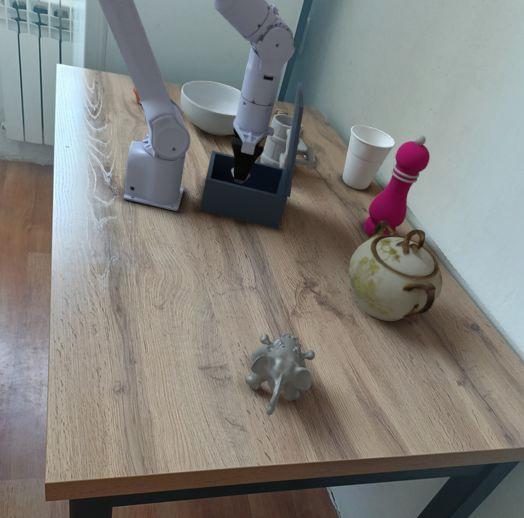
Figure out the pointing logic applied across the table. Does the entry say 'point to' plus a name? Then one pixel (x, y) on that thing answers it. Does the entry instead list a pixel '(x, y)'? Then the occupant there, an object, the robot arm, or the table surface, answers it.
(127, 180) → the robot arm
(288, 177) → the lid
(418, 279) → the sugar bowl
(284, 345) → the elephant statuette
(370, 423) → the table surface
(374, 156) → the cup
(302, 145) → the knife
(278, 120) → the mug
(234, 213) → the compartment
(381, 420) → the table surface
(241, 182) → the game die
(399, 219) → the pepper mill
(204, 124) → the cereal bowl
